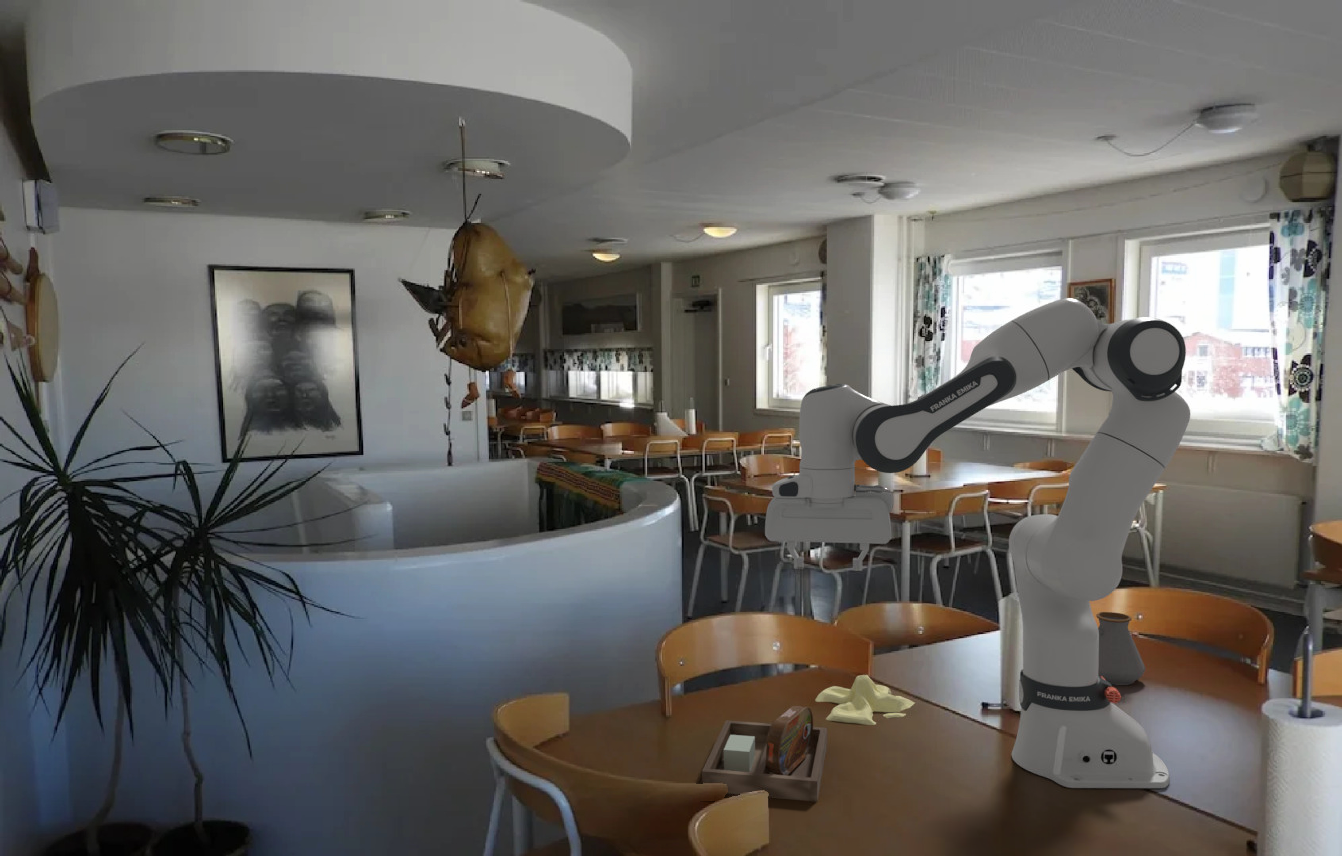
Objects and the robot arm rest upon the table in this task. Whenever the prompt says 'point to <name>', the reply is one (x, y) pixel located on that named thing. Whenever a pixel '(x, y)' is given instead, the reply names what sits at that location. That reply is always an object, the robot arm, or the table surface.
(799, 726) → the tin
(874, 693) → the cloth
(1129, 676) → the coffee pot
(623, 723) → the table surface
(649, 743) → the table surface
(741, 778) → the caddy
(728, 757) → the sage block
